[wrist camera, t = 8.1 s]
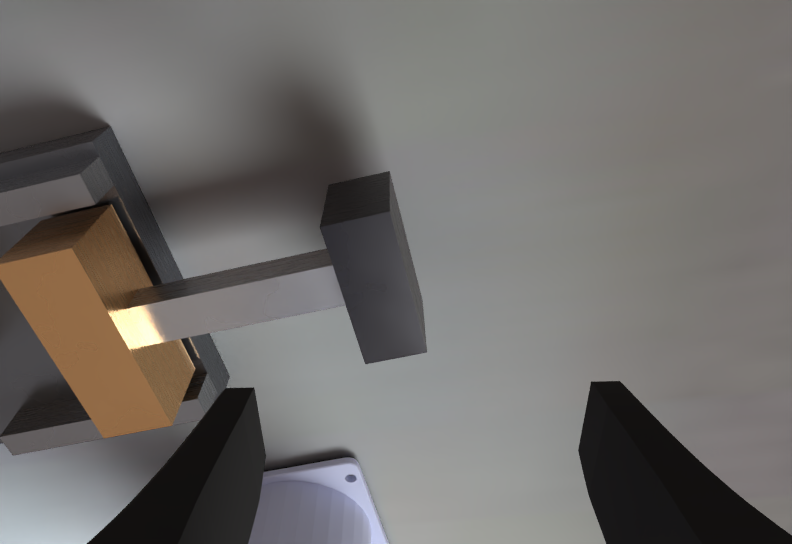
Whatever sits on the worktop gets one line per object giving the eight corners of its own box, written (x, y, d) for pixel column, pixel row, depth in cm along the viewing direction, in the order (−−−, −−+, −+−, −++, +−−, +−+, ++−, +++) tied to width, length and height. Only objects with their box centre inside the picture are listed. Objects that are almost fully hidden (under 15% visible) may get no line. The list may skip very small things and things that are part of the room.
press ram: (428, 322, 23) (433, 376, 20) (133, 380, 24) (103, 438, 22) (382, 141, 19) (381, 178, 17) (41, 220, 21) (-9, 266, 18)
